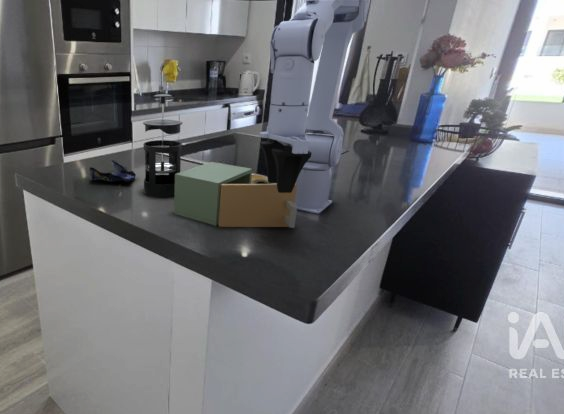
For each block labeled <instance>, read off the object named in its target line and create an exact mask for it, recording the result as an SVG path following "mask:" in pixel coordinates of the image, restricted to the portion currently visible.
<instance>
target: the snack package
mask: <svg viewBox="0 0 564 414" xmlns="http://www.w3.org/2000/svg"><path fill="white" fill-rule="evenodd" d="M109 161H111V166H112V168H113V169H114V170H116V171H115V172H113V171H111V172H101V171H99V170H97V169H96V168H95V167H92V166H90V167H89V172H88V173H89V174H88V175H89V177H90V179H91V181H93V180H100V181H105V182H120V181H124V182H126V183H130V182H132V181H133V180H135V178H136V176H137V174H136V173H135V172H134V171H133V170H130V171H128V168H127V166H126V165H124V164H123V163H121V162H118V161H117V160H114V159H109ZM106 169H107V170H108V169H109V167H106Z"/></svg>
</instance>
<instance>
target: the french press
mask: <svg viewBox="0 0 564 414" xmlns="http://www.w3.org/2000/svg"><path fill="white" fill-rule="evenodd" d="M172 97H173V95H172V94H167V93H159V94H155V95H153V98H160V104H161V119H152V120H146V121H143V122H142V124H143V126H144V131H145V133H147V132H148V131H153V130H155V131H156V130H160V131H161V139H159V140H157V139H156V140H149V141H145V142H143V151H144V161H145V162H144V174H145V177H144V178H143V189H142V194H143V195H144V196H146V197H148V198H154V199H172V198H175V174H177V173H180V172H181V160H182V159H181V158H182V157H181V156H182V150H183V143H182V142H181V141H180V140H174V139H172V140H168V139H164V135H165V134H167V135H175V134H180V133H181V125H183V122H182V121H180V120H174V119H165V118H164V114H165V109H164V108H165V104H166V98H172ZM164 133H165V134H164ZM164 146H165V147H164ZM157 154H161V162H156V160H157V159H156V158H157V156H156V155H157ZM164 154H168V162H164Z"/></svg>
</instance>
